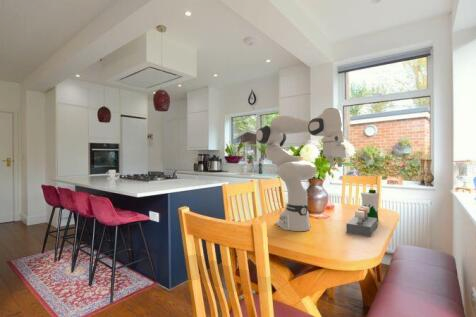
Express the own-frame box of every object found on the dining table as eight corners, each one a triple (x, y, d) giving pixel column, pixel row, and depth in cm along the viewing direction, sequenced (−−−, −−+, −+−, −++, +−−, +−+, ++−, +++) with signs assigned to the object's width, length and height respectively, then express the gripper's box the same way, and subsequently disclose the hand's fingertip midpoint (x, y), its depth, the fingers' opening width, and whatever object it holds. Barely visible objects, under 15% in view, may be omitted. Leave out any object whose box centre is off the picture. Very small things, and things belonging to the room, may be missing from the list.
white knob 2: (368, 219, 149) (368, 208, 149) (360, 218, 152) (360, 207, 152) (370, 218, 153) (370, 206, 153) (361, 217, 156) (361, 206, 155)
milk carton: (380, 221, 164) (380, 190, 164) (369, 222, 161) (369, 191, 161) (369, 218, 172) (369, 189, 172) (359, 219, 169) (359, 189, 169)
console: (370, 236, 133) (370, 226, 133) (346, 232, 140) (346, 223, 140) (377, 226, 152) (377, 218, 152) (355, 223, 159) (355, 215, 159)
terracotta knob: (366, 222, 143) (366, 210, 143) (357, 221, 145) (357, 209, 145) (367, 220, 146) (367, 209, 146) (359, 219, 149) (359, 208, 149)
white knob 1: (363, 225, 136) (363, 212, 136) (354, 224, 139) (354, 211, 139) (365, 223, 140) (365, 211, 140) (356, 222, 143) (356, 210, 143)
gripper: (335, 141, 137) (337, 167, 136) (319, 138, 122) (321, 167, 121) (347, 140, 133) (350, 166, 132) (332, 136, 118) (335, 166, 117)
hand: (336, 166), depth 126 cm, fingers open, 8 cm apart
